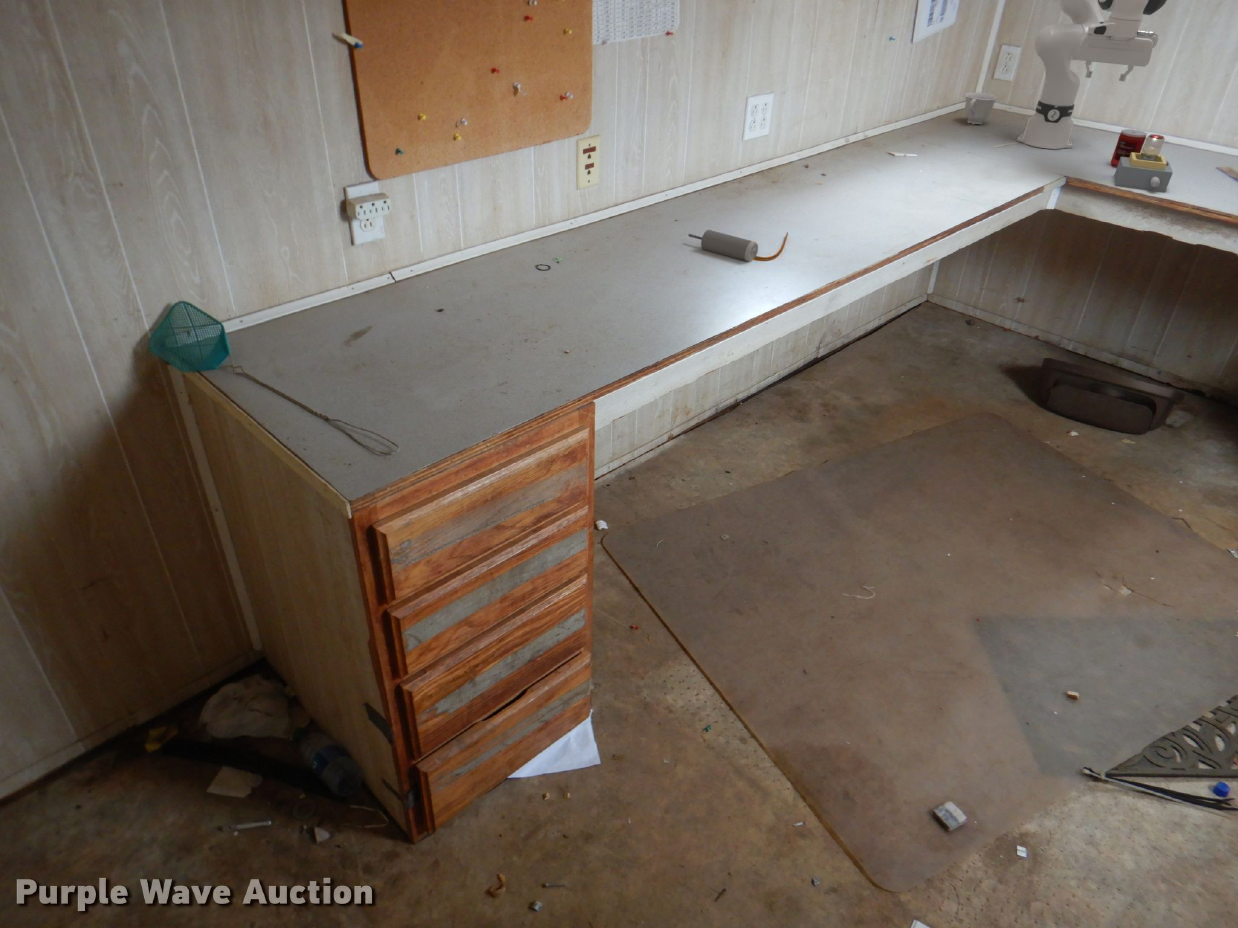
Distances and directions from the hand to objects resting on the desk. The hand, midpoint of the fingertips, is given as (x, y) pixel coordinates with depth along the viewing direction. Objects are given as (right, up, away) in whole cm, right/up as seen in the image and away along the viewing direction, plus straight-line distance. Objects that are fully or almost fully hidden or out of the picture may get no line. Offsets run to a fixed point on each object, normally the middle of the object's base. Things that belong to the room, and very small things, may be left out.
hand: (1104, 79), depth 262 cm
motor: (-116, -61, -42) cm, 138 cm away
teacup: (-11, +14, +71) cm, 73 cm away
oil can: (+17, -23, +7) cm, 30 cm away
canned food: (+21, -17, +27) cm, 39 cm away
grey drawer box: (+17, -29, +10) cm, 35 cm away
